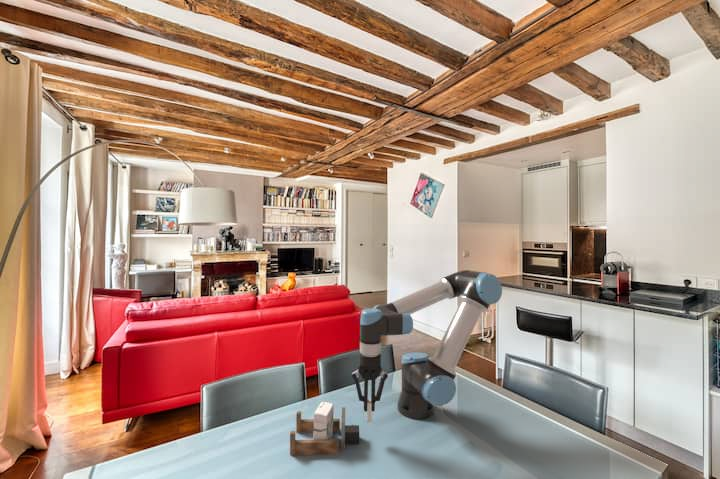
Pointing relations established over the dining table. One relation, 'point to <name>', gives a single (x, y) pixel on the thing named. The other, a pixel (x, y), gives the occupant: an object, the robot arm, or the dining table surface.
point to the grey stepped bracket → (348, 432)
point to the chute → (312, 445)
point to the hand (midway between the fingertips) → (368, 419)
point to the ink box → (323, 421)
